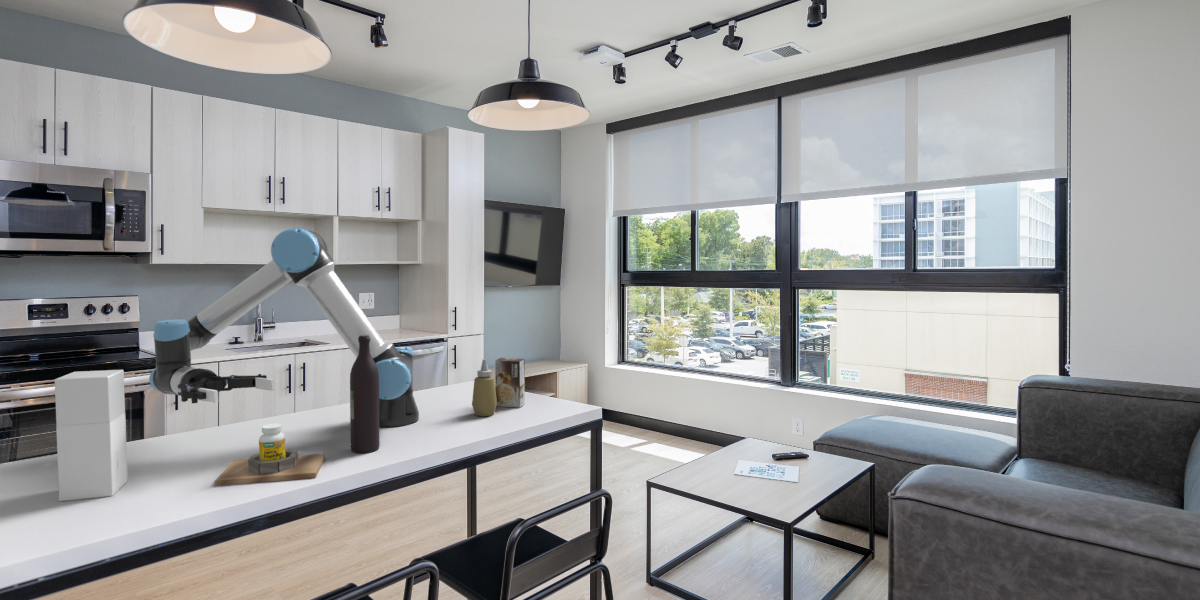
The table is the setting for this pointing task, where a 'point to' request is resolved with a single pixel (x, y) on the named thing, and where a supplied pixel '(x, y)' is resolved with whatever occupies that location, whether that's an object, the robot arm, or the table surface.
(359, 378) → the wine bottle
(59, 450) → the tall white carton
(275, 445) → the supplement bottle
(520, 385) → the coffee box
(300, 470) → the board
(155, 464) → the table surface
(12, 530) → the table surface
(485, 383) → the squeeze bottle
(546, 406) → the table surface
